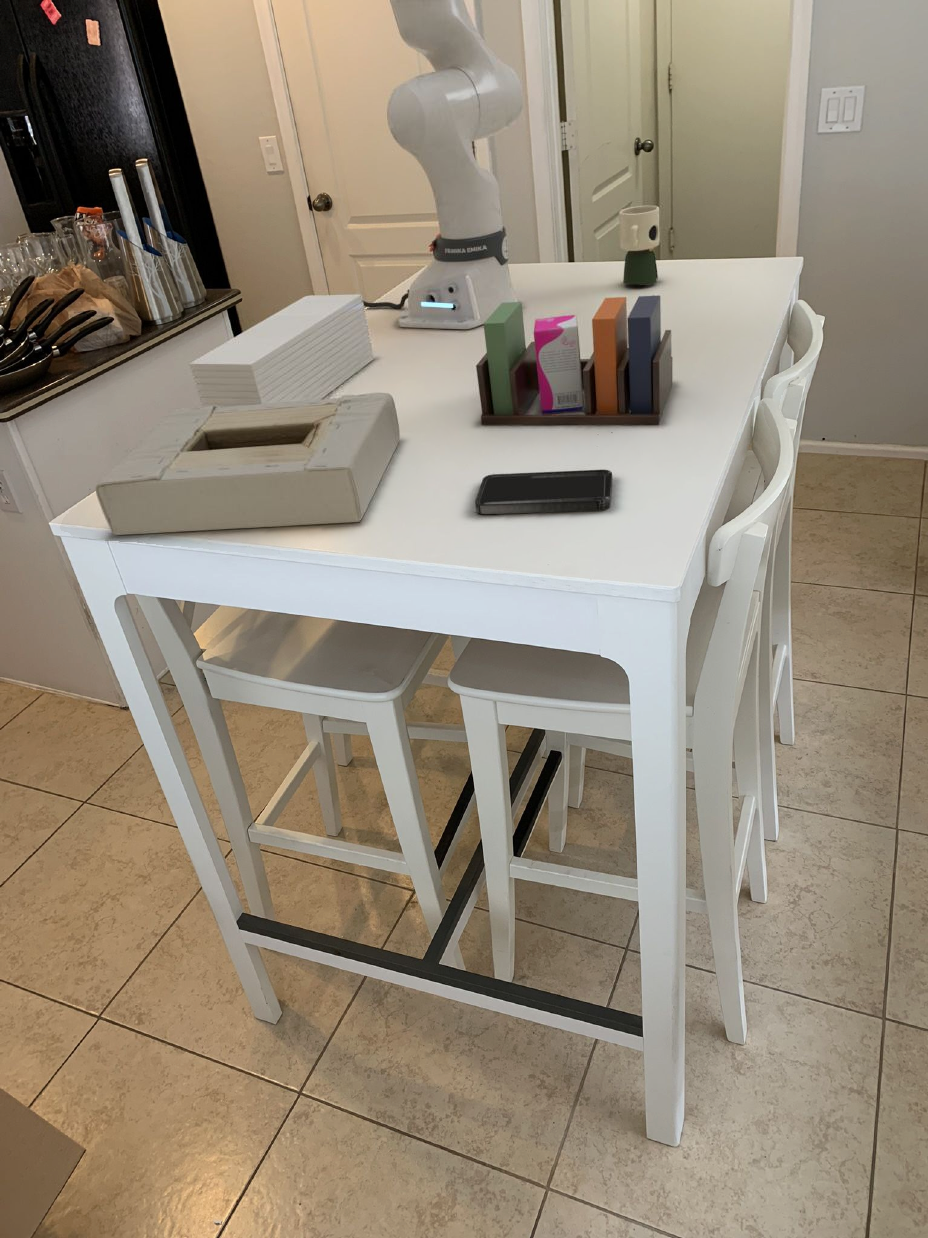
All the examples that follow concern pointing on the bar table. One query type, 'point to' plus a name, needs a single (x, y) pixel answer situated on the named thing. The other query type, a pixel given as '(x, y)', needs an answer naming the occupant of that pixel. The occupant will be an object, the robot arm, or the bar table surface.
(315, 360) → the white long layered block
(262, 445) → the box
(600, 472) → the phone
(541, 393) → the supplement box
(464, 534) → the bar table surface
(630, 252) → the character mug
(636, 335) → the navy book
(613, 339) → the orange book
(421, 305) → the robot arm
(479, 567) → the bar table surface
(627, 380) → the book rack
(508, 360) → the green book
